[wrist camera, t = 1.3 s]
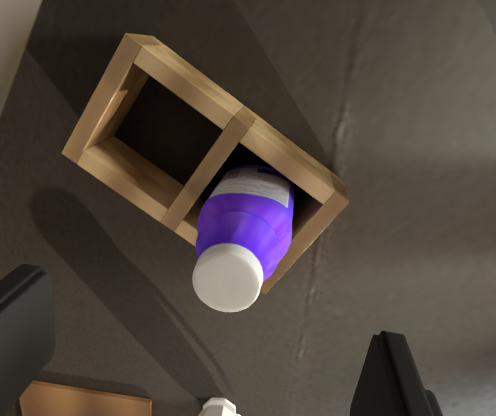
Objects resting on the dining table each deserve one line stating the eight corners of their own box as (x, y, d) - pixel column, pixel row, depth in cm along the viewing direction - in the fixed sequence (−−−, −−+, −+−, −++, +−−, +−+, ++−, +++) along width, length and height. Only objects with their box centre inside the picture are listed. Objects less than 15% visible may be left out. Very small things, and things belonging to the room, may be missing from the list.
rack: (94, 139, 39) (60, 153, 34) (152, 35, 35) (125, 32, 30) (269, 262, 42) (264, 294, 36) (342, 180, 38) (349, 201, 32)
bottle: (219, 212, 41) (166, 317, 24) (222, 158, 38) (165, 233, 22) (291, 220, 40) (286, 333, 24) (298, 165, 38) (296, 248, 22)
